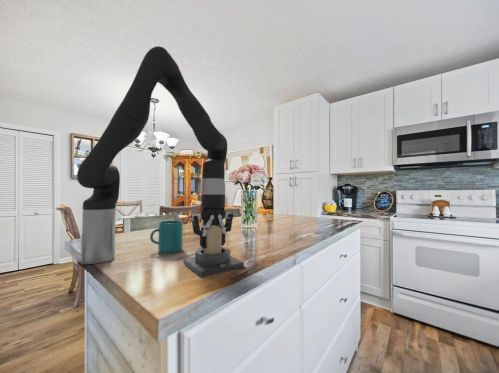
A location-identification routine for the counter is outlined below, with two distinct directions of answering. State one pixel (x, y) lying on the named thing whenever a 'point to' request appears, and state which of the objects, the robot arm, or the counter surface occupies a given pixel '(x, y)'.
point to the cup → (169, 236)
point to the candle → (213, 240)
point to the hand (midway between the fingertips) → (212, 246)
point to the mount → (212, 262)
